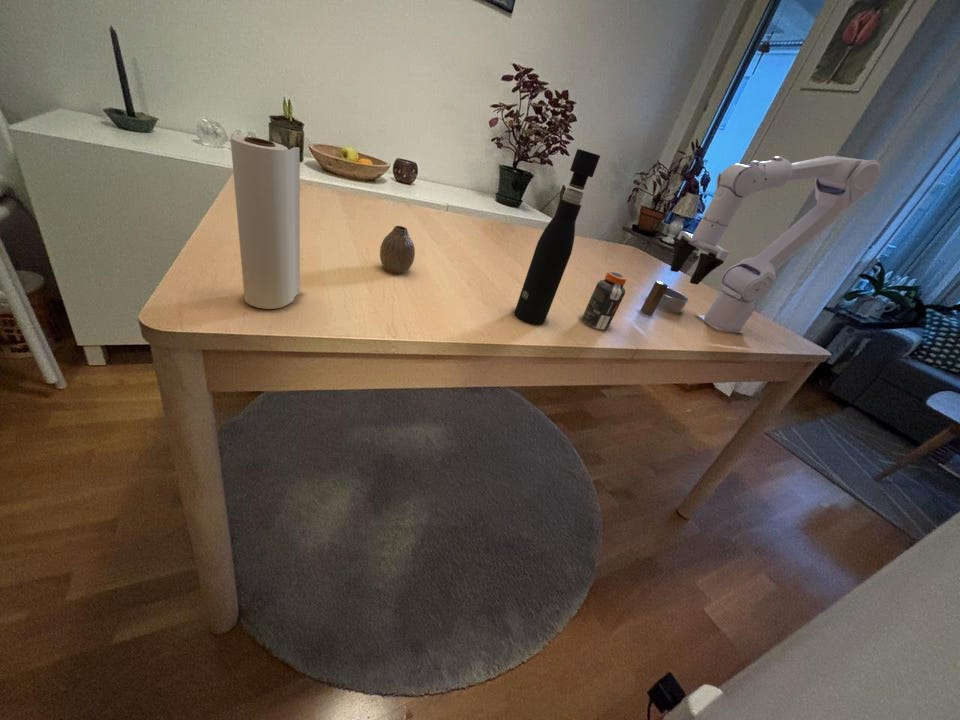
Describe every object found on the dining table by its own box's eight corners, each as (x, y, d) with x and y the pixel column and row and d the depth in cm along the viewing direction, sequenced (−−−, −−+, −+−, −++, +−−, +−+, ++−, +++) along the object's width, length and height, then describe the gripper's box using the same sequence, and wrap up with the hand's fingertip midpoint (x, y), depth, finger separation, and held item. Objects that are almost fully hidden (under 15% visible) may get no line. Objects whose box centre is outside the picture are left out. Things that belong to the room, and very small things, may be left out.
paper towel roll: (241, 308, 53) (225, 137, 42) (247, 289, 58) (234, 131, 46) (298, 312, 56) (297, 153, 45) (299, 294, 61) (299, 145, 49)
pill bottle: (609, 333, 79) (634, 283, 73) (582, 324, 79) (604, 274, 74) (606, 322, 84) (629, 274, 78) (581, 313, 85) (602, 265, 79)
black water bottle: (548, 318, 78) (610, 158, 62) (539, 328, 73) (605, 157, 57) (520, 306, 79) (574, 147, 64) (509, 315, 74) (565, 145, 58)
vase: (418, 273, 80) (425, 232, 76) (396, 279, 75) (402, 235, 70) (394, 261, 83) (399, 220, 78) (370, 265, 77) (375, 222, 73)
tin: (666, 300, 111) (673, 288, 109) (687, 316, 103) (695, 302, 101) (640, 296, 108) (647, 283, 106) (660, 311, 100) (668, 298, 98)
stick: (646, 313, 97) (662, 282, 92) (651, 317, 95) (668, 286, 90) (639, 311, 96) (655, 280, 91) (644, 316, 94) (661, 284, 90)
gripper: (681, 210, 91) (653, 263, 98) (725, 228, 80) (690, 287, 87) (703, 216, 93) (674, 268, 101) (749, 234, 82) (713, 291, 89)
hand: (683, 277), depth 94 cm, fingers open, 7 cm apart
